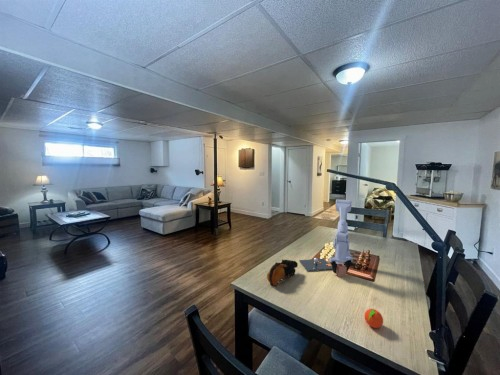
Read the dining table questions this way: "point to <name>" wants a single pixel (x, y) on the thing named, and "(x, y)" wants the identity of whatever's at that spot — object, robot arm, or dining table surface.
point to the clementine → (373, 318)
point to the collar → (341, 270)
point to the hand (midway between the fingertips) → (340, 272)
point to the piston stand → (315, 265)
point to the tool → (281, 271)
